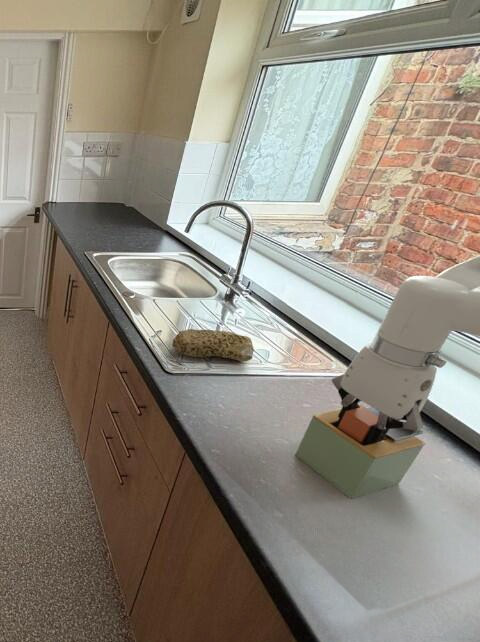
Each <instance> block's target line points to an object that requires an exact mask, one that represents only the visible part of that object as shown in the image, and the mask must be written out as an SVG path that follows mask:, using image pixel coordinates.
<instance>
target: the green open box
mask: <svg viewBox="0 0 480 642" xmlns="http://www.w3.org/2000/svg"><path fill="white" fill-rule="evenodd" d="M358 406H360V408H361V407H363V408H367V407H365V406H364V405H363V404H360V403H359V404H358ZM341 409H342V407H341V408H337V409H333V410H328V411H325V412H320V413H317V414H313V415H312V417H311V419H310V422H309V424H308V426H307V428H306V430H305V432H304V434H303V437H302V439H301V441H300V443H299V445H298V447H297V449H296V451H295V456H296V457H297V458H299V459H300V460H301V461H302V462H304V463H305V464H306V465H308V466H309V467H310V468H312V470H314V471H315V472H317V473H318V474H319V475H320V476H321V477H322V478H324V479H326V481H328V482H329V483H330V484H332V486H334V487H336V489H337V490H339V491H340V492H342V493H343V494H345V496H347V497H348V498H349V499H351V500H352V499H355V498H358V497H361V496H365V495H368V494H372V493H376V492H378V491H381V490H384V489H388V488H390V487H394V486H398V485H399V484H400V483H401V481H402V480H403V479H404V477H405V475H406V474H407V472H408V471H409V470H410V468H411V466H412V464H414V461H415V460H416V459H417V457H418V455H419V454H420V452H421V451H422V449H423V448H424V446H425V445H426V442H425V441H423V440H421V439H419V438H418V437H416V436H412V437H409V438H405V439H401V440H398V441H392V440H390V439H389V438H387V437H386V436H385V437H384V439H383V440H382V441H380V442H372V443H368V444H367V443H365V442H359V441H357V440H356V439H354V438H353V437H351V436H350V435H348V434H347V433H345V432H344V431H342V430H341V429H339V428H338V426H339V425H338V424H337V421H338V420H339V417H338V415H339V413H340V411H341Z"/></svg>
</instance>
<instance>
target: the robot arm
mask: <svg viewBox="0 0 480 642" xmlns="http://www.w3.org/2000/svg"><path fill="white" fill-rule="evenodd" d="M451 332H460V333H463V334H469V335H472V336H477V337H480V254H479V255H477V256H474V257H472V258H469V259H466V260H464V261H462V262H460V263H457V264H455V265H453V266H451V267H448V268H447V269H445V270H443V271H442V272H440V273H439V274H437V275H435V276H430V275H414V276H410V277H407V278H406V279H405V280H404V281H402V282H401V284H400V286H399V288H398V290H397V292H396V294H395V296H394V298H393V299H392V302H391V304H390V305H389V308H388V310H387V311H386V314H385V315H384V318H383V319H382V322H381V324H380V325H379V328H378V330H377V331H376V333H375V335H374V337H373V338H372V342H370V343H367V344H365V345H364V346H363V347H362V349H361V350H360V351H359V352H358V353H357V354H356V355H355V357H354V358H353V359H352V361H351V362H350V363H349V365H348V367H347V369H346V371H345V372H344V373H343V374H340V375H338V376H335V377H333V378H331V383H332V384H333V386H334V387H335V388H336V390H337V392H338V395H339V397H340V399H341V402H340V405H341V406H342V407H341V408H342V409H341V408H340V409H341V411H340V413H339V415H338V417H339V420H338V421H337V424H338V425H339V424H340V422H341V420H342V418H343V416H344V414H345V412H346V411H349V410H353V409H357V408H360V406H358V404H360V403H361V402H363V403H364V404H367V405H368V406H369V407H373V408H375V409H377V410H378V411H380V412H379V416H378V420H377V423H376V424H375V425H372V426H371V428H370V430H369V432H368V433H367V435H366V437H365V439H364V442H365V443H367V444H368V443H372V442H380V441H382V440H383V439H384V437H385V435H386V433H387V432H388V430H389V429H395V428H403V429H409V430H419V429H420V430H422V429H423V428H424V425H423V422H422V420H423V419H422V416H421V411H422V410H423V408H424V407H425V404H426V402H427V400H428V398H429V396H430V393H431V391H432V389H433V386H434V383H435V379H436V375H437V369H438V368H439V369H441V368H443V367H444V366H446V364H447V360H444V359H442V357H440V354H441V353H442V352H441V349H442V347H443V345H444V344H445V343H446V340H447V339H448V337H449V335H450V334H451ZM404 415H406V417H407V420H403V419H401V418H403V417H404ZM397 419H400V420H397ZM421 419H422V420H421Z"/></svg>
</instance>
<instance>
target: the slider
mask: <svg viewBox="0 0 480 642" xmlns="http://www.w3.org/2000/svg"><path fill="white" fill-rule="evenodd" d="M364 409H366V410H368V411H369V412H371V413H373V414H374V415H376V416H379V412H380V411H378V410H377V409H375V408H373V407H372V406H369V407H366V408H364ZM401 419H403V420H407V417H406V415H404V417H403V418H401ZM397 420H400V419H397ZM421 420H422V423H423V422H424V420H423V419H422V418H421ZM423 434H424V431H423V430H422V429H419V430H409V429H403V428H395V429H389V430H388V432H387V433H386V435H385V436H386V437H387V438H389V439H390V440H392V441H398V440H401V439H405V438H409V437H412V436H414V437H416V436H419V435H423Z"/></svg>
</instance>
